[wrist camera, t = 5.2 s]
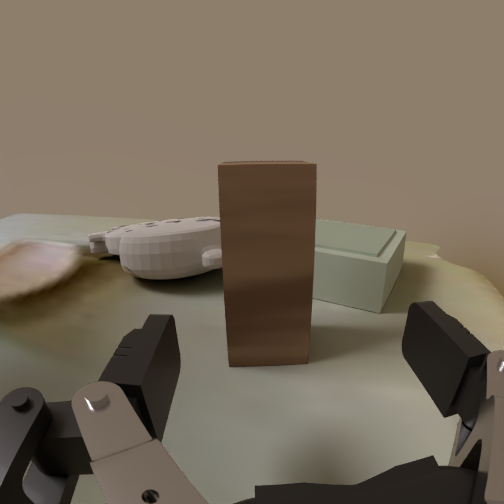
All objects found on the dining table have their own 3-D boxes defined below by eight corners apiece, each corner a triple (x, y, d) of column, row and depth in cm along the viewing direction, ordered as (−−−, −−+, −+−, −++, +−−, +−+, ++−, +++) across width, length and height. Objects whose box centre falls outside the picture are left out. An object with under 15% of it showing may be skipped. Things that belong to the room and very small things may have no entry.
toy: (47, 297, 25) (259, 287, 25) (38, 247, 25) (255, 227, 25) (125, 254, 47) (254, 243, 47) (121, 223, 46) (252, 211, 46)
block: (307, 363, 18) (316, 164, 14) (229, 366, 18) (217, 165, 14) (296, 324, 22) (300, 160, 18) (231, 326, 22) (224, 162, 18)
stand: (379, 313, 23) (387, 260, 21) (258, 284, 28) (257, 238, 27) (401, 268, 31) (406, 228, 30) (309, 251, 37) (310, 216, 36)
